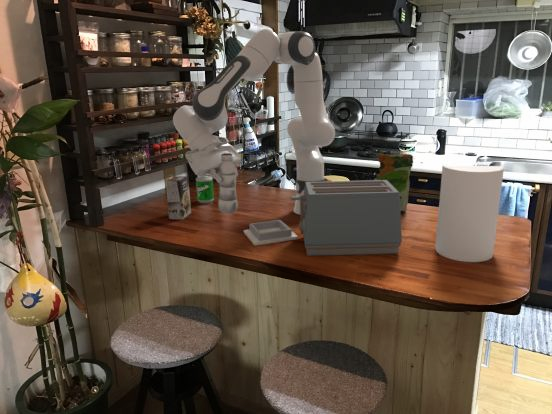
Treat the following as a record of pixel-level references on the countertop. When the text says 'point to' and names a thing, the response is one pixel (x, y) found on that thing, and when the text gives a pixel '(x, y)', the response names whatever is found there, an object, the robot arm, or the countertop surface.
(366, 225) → the toaster
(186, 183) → the coffee box
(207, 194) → the soda can
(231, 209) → the plastic bottle
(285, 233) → the bottle holder
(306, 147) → the robot arm
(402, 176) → the pouch
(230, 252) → the countertop surface
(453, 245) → the cylinder
